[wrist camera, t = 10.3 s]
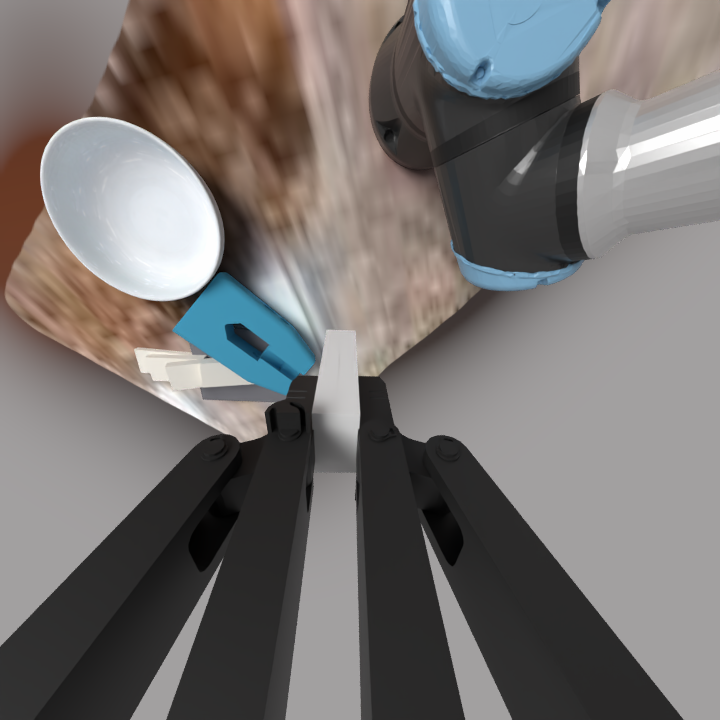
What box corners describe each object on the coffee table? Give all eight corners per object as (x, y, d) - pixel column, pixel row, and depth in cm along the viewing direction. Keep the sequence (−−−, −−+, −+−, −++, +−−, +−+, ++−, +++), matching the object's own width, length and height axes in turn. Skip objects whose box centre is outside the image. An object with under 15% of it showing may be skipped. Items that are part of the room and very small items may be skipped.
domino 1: (191, 354, 50) (134, 349, 49) (196, 377, 53) (141, 372, 52) (196, 351, 52) (140, 345, 51) (199, 373, 54) (146, 368, 53)
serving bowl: (76, 102, 34) (18, 78, 28) (246, 170, 38) (228, 162, 32) (93, 265, 43) (53, 274, 37) (229, 305, 47) (213, 319, 41)
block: (320, 347, 51) (228, 272, 45) (322, 354, 47) (219, 272, 40) (280, 392, 53) (184, 326, 46) (278, 404, 48) (170, 332, 41)
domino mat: (283, 330, 50) (283, 332, 49) (287, 400, 58) (287, 402, 57) (187, 325, 48) (185, 326, 48) (204, 397, 56) (203, 399, 55)
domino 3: (229, 360, 50) (165, 367, 46) (233, 382, 52) (172, 391, 48) (229, 356, 51) (166, 362, 47) (233, 378, 53) (174, 386, 50)
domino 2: (202, 359, 49) (144, 357, 48) (208, 382, 52) (153, 380, 51) (206, 355, 51) (150, 353, 50) (211, 377, 53) (158, 376, 52)
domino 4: (261, 361, 50) (199, 363, 46) (261, 383, 53) (202, 387, 48) (261, 357, 51) (200, 359, 47) (260, 379, 54) (203, 382, 50)
